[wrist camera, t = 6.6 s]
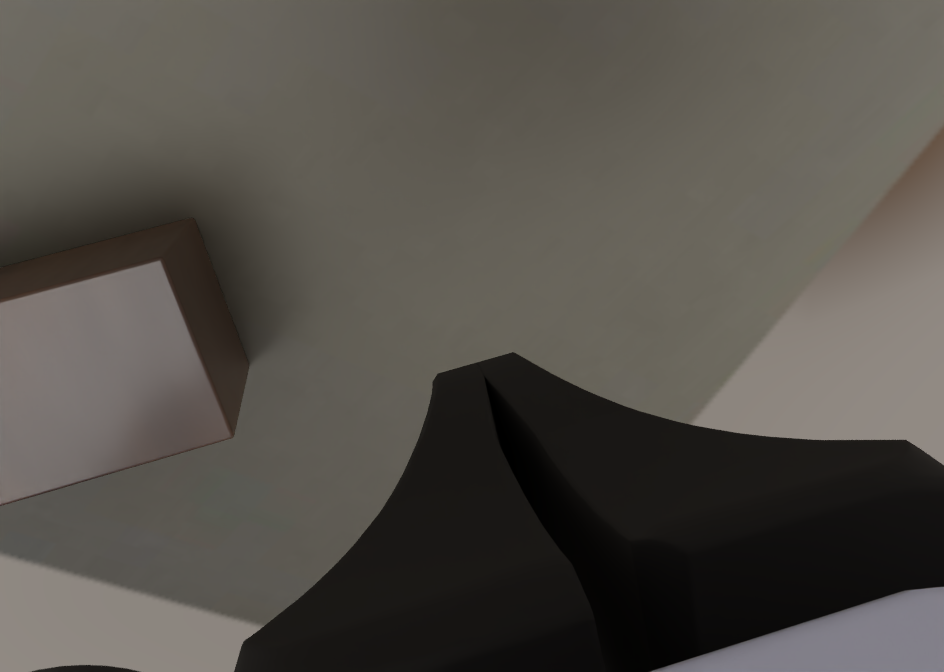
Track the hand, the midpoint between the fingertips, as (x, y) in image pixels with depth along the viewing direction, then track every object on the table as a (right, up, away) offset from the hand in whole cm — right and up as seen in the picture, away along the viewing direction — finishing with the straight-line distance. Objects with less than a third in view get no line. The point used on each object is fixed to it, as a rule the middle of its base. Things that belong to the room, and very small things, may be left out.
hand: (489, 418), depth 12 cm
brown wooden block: (-7, +2, +7) cm, 10 cm away
